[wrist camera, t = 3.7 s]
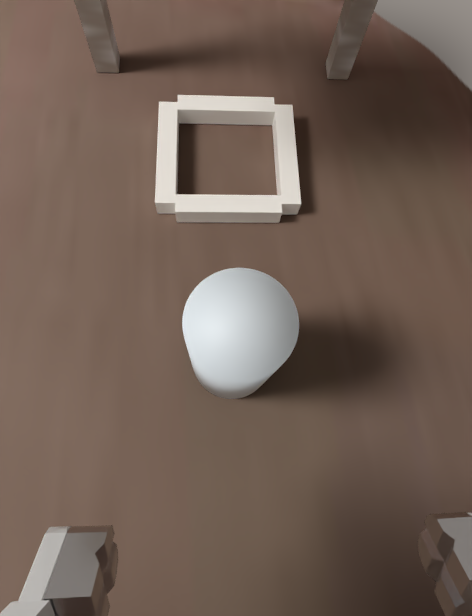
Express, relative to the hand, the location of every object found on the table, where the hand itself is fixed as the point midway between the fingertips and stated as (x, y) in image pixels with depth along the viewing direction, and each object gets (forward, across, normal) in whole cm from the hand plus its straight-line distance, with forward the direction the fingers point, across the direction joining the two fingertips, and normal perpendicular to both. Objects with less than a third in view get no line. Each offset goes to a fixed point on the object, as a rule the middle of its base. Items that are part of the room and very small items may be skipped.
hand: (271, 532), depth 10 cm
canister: (+12, +1, +3) cm, 12 cm away
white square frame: (+21, +1, -6) cm, 22 cm away
